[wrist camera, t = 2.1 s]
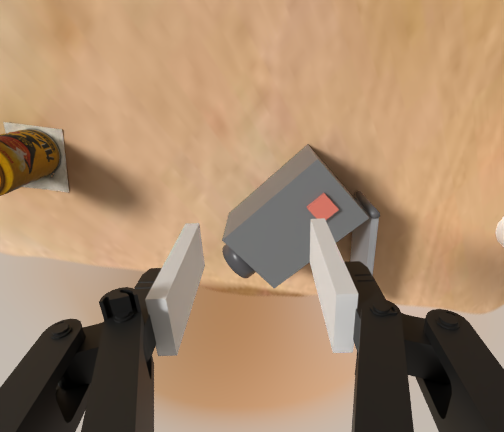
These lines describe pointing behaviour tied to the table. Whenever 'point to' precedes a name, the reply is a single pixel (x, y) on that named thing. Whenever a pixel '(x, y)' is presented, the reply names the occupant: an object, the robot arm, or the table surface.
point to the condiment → (32, 158)
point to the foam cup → (500, 232)
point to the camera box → (287, 219)
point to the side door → (365, 234)
